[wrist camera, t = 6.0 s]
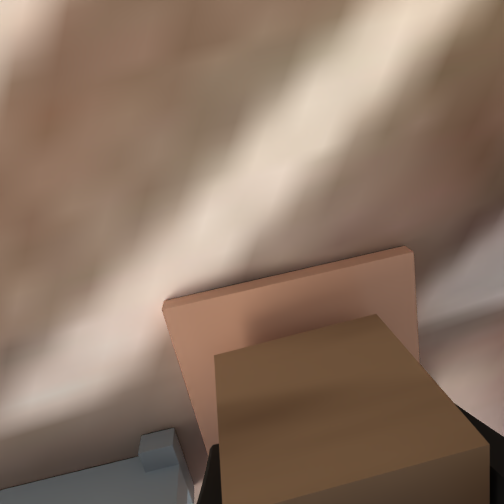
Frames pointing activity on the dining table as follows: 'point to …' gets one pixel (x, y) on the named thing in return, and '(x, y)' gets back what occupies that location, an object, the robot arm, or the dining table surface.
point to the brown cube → (342, 424)
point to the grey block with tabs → (118, 479)
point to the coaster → (287, 315)
